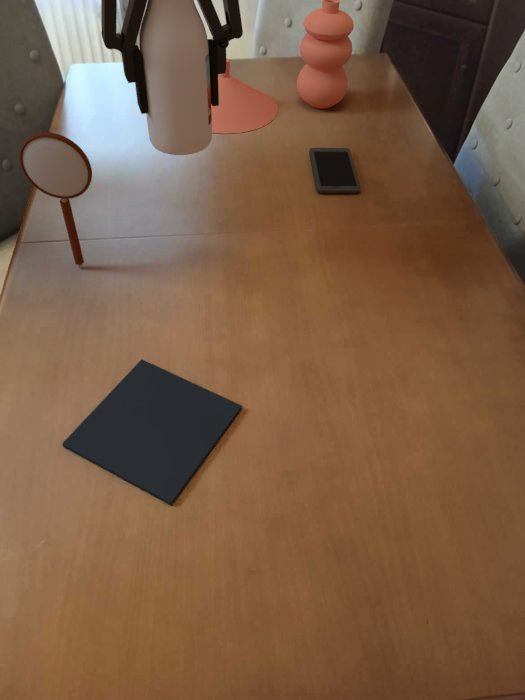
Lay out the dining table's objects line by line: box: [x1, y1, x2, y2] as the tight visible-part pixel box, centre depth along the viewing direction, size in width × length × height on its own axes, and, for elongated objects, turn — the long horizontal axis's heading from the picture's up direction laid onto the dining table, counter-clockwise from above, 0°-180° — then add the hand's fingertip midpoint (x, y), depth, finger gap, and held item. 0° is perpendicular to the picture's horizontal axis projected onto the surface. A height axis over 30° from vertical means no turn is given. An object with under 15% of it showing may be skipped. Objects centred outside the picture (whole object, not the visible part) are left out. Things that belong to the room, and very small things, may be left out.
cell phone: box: [308, 147, 362, 194], centre depth 103 cm, size 7×14×1 cm, turn 3°
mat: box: [61, 359, 243, 507], centre depth 66 cm, size 14×14×1 cm
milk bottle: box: [139, 0, 213, 156], centre depth 67 cm, size 8×8×20 cm
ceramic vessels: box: [211, 0, 355, 135], centre depth 112 cm, size 35×21×19 cm, turn 100°
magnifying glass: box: [19, 132, 93, 269], centre depth 77 cm, size 9×2×20 cm, turn 85°
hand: (178, 104), depth 71 cm, fingers closed on milk bottle, 8 cm apart
